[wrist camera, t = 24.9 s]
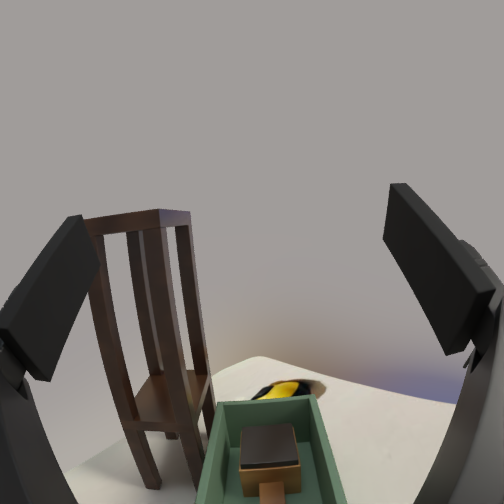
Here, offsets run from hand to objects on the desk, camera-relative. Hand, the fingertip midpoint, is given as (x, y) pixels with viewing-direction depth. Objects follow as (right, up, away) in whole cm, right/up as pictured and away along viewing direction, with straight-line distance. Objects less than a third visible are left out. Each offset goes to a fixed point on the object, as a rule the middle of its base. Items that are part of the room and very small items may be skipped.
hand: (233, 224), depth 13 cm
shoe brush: (+3, -27, +12) cm, 29 cm away
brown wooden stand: (-7, -27, +21) cm, 35 cm away
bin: (+3, -27, +12) cm, 30 cm away
